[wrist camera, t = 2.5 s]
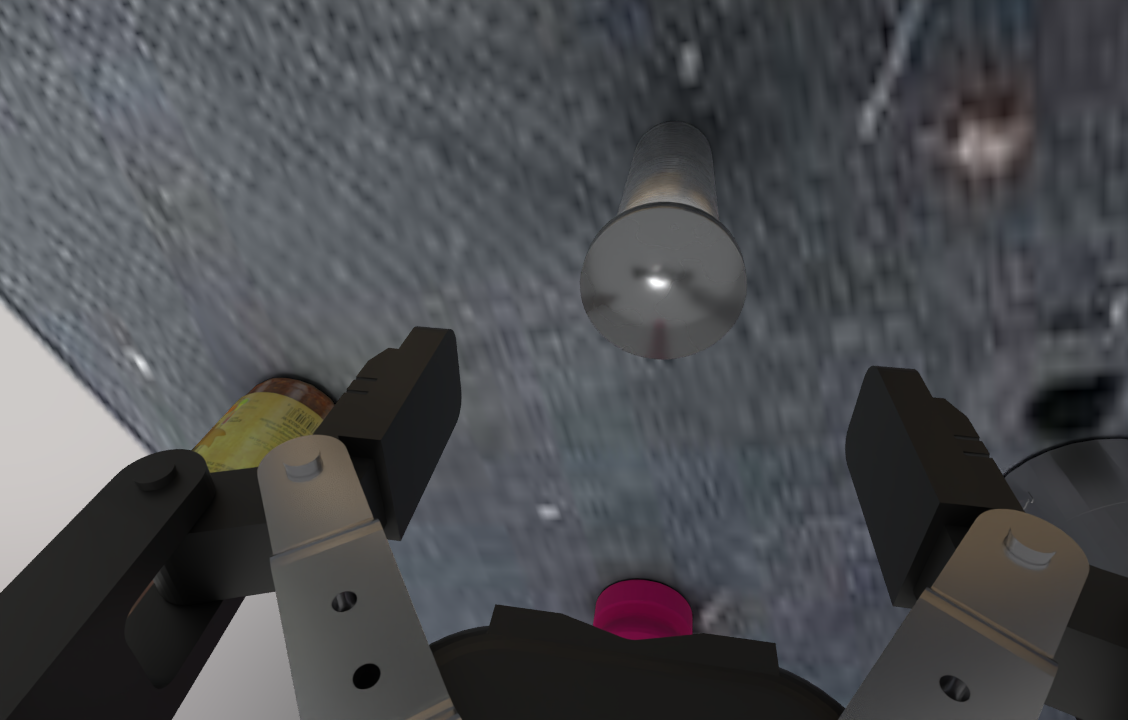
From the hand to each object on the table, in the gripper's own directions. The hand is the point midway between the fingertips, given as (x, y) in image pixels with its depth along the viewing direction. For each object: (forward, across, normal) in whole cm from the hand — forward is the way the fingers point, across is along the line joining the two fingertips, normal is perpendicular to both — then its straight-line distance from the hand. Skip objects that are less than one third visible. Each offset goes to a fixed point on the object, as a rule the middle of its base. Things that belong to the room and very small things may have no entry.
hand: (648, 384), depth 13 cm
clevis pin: (+16, 0, 0) cm, 16 cm away
